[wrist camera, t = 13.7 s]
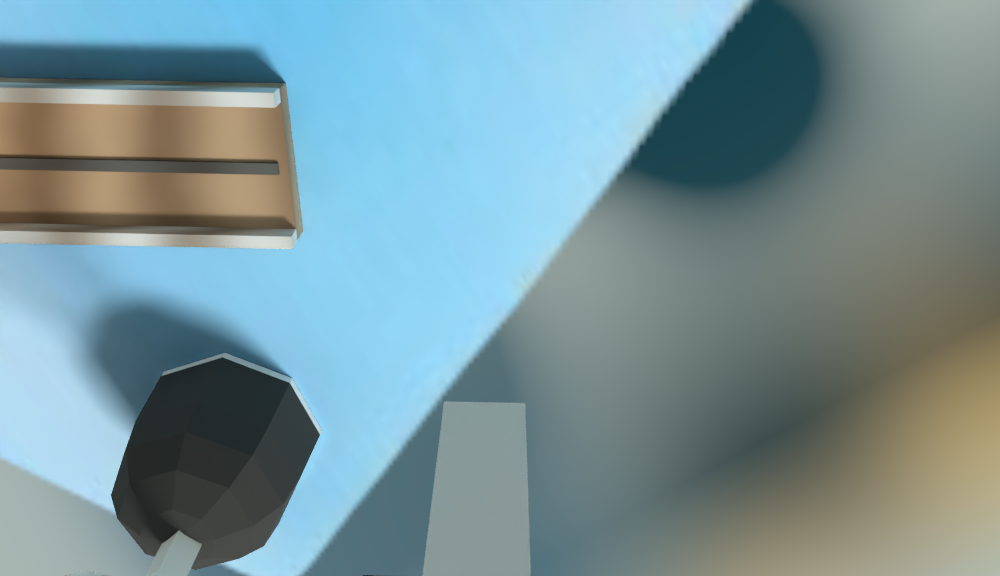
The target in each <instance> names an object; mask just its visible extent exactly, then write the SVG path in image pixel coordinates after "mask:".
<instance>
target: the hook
mask: <svg viewBox="0 0 1000 576" xmlns="http://www.w3.org/2000/svg"><path fill="white" fill-rule="evenodd" d="M321 431H322V429H321V427H320V426H319V424H318V422H317V420H316V419H315V417H314V415H313V413H312V412H311V410H310V408H309V407H308V405H307V403H306V401H305V400H304V398H303V396H302V394H301V393H300V391H299V389H298V388H297V386H296V384H295V382H294V381H293V379H292V378H290V377H288V376H285V375H282V374H280V373H277V372H275V371H272V370H269V369H267V368H264V367H261V366H259V365H256V364H254V363H251V362H248V361H246V360H243V359H240V358H238V357H235V356H233V355H230V354H227V353H222V354H219V355H216V356H212V357H209V358H206V359H203V360H199V361H196V362H193V363H190V364H186V365H183V366H180V367H177V368H173V369H170V370H167V371H164V372H163V374H162V376H161V377H160V379H159V381H158V383H157V384H156V386H155V388H154V390H153V392H152V393H151V395H150V397H149V399H148V400H147V402H146V404H145V406H144V408H143V409H142V411H141V413H140V415H139V417H138V418H137V420H136V422H135V425H134V428H133V430H132V433H131V436H130V439H129V441H128V444H127V447H126V450H125V453H124V456H123V459H122V462H121V465H120V469H119V472H118V475H117V478H116V481H115V484H114V488H113V491H112V494H111V497H112V500H113V504H114V508H115V511H116V515H117V518H118V520H119V521H120V522H121V524H122V525H123V526H124V527H125V529H126V530H127V531H128V532H129V533H130V535H131V536H132V537H133V539H134V540H135V541H136V542H137V544H138V545H139V546H140V547H141V548H142V550H143V551H144V553H145V554H147V555H151V556H154V557H155V558H154V559H153V562H152V563H151V565H150V567H149V569H148V571H147V573H146V574H145V576H188V574H189V571H190V569H195V570H196V569H200V568H204V567H208V566H212V565H216V564H220V563H224V562H227V561H231V560H235V559H239V558H241V557H243V556H245V555H247V554H249V553H251V552H253V551H255V550H257V549H259V548H261V547H263V546H264V545H265V543H266V542H267V540H268V539H269V537H270V536H271V534H272V533H273V531H274V530H275V528H276V527H277V525H278V524H279V522H280V519H281V517H282V515H283V513H284V511H285V509H286V507H287V505H288V502H289V500H290V498H291V496H292V494H293V492H294V490H295V487H296V485H297V483H298V481H299V479H300V477H301V475H302V472H303V470H304V468H305V466H306V464H307V462H308V459H309V457H310V455H311V453H312V451H313V449H314V446H315V444H316V442H317V440H318V438H319V436H320V433H321ZM66 576H108V575H104V574H99V573H95V572H90V571H83V572H78V573H75V574H70V575H66Z"/></svg>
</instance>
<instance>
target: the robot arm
mask: <svg viewBox="0 0 1000 576" xmlns="http://www.w3.org/2000/svg"><path fill="white" fill-rule="evenodd" d="M526 448H527V447H526V418H525V403H488V402H487V403H486V402H444V407H443V415H442V424H441V433H440V440H439V448H438V456H437V464H436V472H435V480H434V488H433V496H432V504H431V512H430V521H429V529H428V537H427V545H426V554H425V561H424V569H423V576H531V571H530V570H531V568H530V539H529V508H528V478H527V449H526ZM363 576H371V575H363Z"/></svg>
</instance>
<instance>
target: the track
mask: <svg viewBox="0 0 1000 576" xmlns="http://www.w3.org/2000/svg"><path fill="white" fill-rule="evenodd" d="M302 232H303V227H302V219H301V210H300V202H299V193H298V184H297V176H296V167H295V159H294V150H293V141H292V133H291V124H290V116H289V107H288V98H287V90H286V83H252V82H203V81H153V80H103V79H53V78H3V77H0V243H20V244H70V245H120V246H170V247H220V248H269V249H293V248H294V246H295V244H296V243H297V241H298V238H299V237H300V235H301V233H302Z"/></svg>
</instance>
